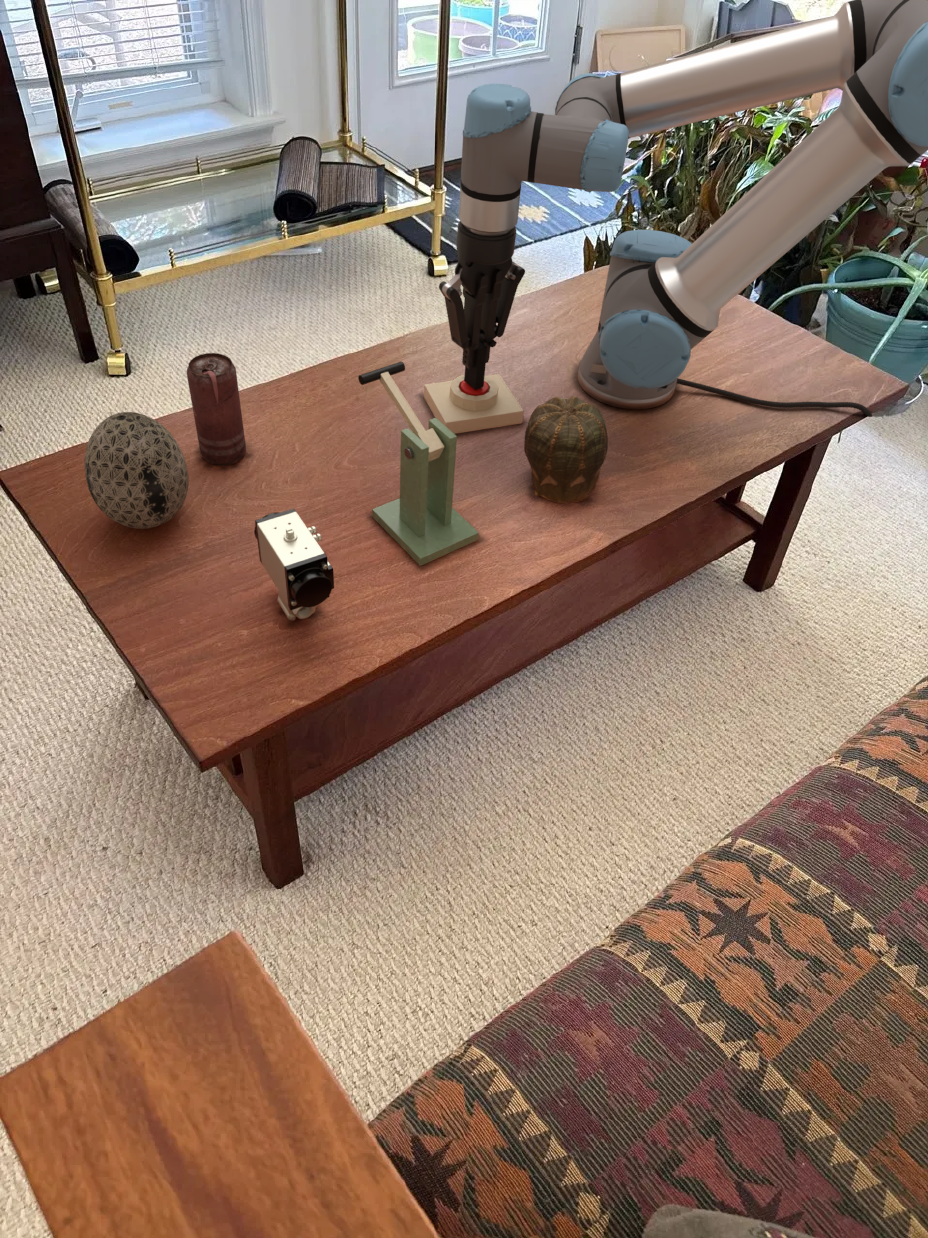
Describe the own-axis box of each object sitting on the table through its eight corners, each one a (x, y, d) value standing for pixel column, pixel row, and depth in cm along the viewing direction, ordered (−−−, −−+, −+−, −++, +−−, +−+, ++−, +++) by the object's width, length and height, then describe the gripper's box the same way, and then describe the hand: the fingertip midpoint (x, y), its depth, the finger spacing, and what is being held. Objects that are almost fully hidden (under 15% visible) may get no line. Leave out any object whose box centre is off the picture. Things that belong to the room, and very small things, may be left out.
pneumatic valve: (298, 647, 107) (291, 570, 98) (259, 582, 113) (248, 504, 105) (343, 631, 109) (340, 554, 100) (301, 568, 115) (295, 490, 107)
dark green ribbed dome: (572, 450, 135) (585, 377, 126) (613, 496, 129) (630, 422, 120) (505, 468, 131) (514, 394, 123) (544, 516, 125) (556, 441, 116)
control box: (498, 386, 145) (500, 363, 142) (522, 423, 139) (525, 400, 136) (423, 396, 142) (424, 373, 139) (444, 435, 136) (446, 411, 133)
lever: (356, 382, 114) (360, 369, 112) (397, 368, 117) (402, 356, 115) (410, 468, 112) (416, 457, 110) (452, 452, 114) (457, 441, 112)
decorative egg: (124, 562, 114) (97, 462, 103) (83, 510, 120) (54, 410, 109) (212, 526, 120) (195, 427, 109) (169, 477, 125) (149, 379, 115)
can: (209, 472, 127) (194, 382, 117) (195, 446, 130) (179, 356, 120) (253, 461, 129) (242, 372, 119) (238, 436, 133) (226, 346, 122)
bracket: (372, 516, 123) (371, 421, 112) (429, 493, 127) (433, 398, 116) (420, 566, 117) (424, 470, 106) (478, 540, 121) (487, 445, 110)
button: (481, 386, 141) (482, 376, 139) (491, 401, 138) (492, 391, 137) (456, 389, 139) (457, 379, 138) (465, 405, 137) (466, 394, 136)
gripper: (509, 201, 125) (493, 359, 142) (428, 222, 119) (422, 384, 136) (545, 223, 121) (524, 383, 138) (463, 246, 115) (452, 410, 132)
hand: (473, 383), depth 137 cm, fingers closed
